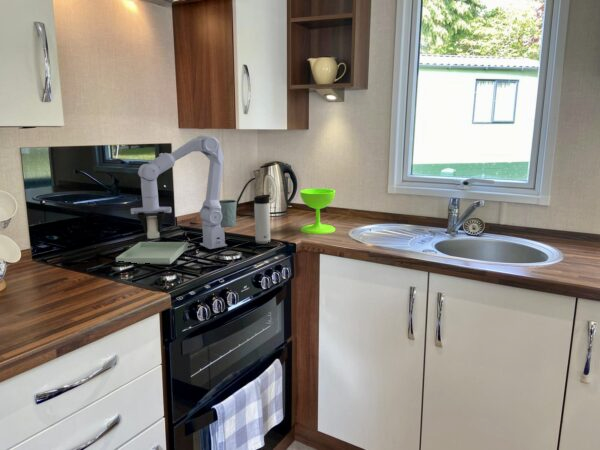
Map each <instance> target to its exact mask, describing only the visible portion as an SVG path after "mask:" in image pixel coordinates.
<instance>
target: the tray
mask: <svg viewBox="0 0 600 450" xmlns="http://www.w3.org/2000/svg"><path fill="white" fill-rule="evenodd" d="M188 246H189V242H187V241H186V242H185V241H182V242H181V241H166V242H165V241H156V242H155V241H139V242H137V243H136V244H135V245H133V246H131V247H130V248H128V249H126V251H123V252H122V253H121V254H119V255H118V256H116V257H115V263H116V262H118V261H124V262H131V263H137V264H136V265H145V263H150V264H149V265H172V263H174V261H176V260H177V259H178V258H179V257H180V256H181V255H182V254H183V253H184V252H186V251H187V250H188V249H187V247H188ZM186 249H187V250H186Z"/></svg>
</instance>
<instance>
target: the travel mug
mask: <svg viewBox="0 0 600 450" xmlns="http://www.w3.org/2000/svg"><path fill="white" fill-rule="evenodd" d="M270 197H271V194H261V195H256V196H254V197H253V200H254V201H253V203H254V205H253V206H254V207H253V208H254V209H253V210H254V229H255V230H254V233H255V234H254V235H255V236H254V237H255V243H256V244H260V245H262V244H264V245H265V244H269V243H271V212H270V210H271V209H270ZM268 242H269V243H268Z"/></svg>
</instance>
